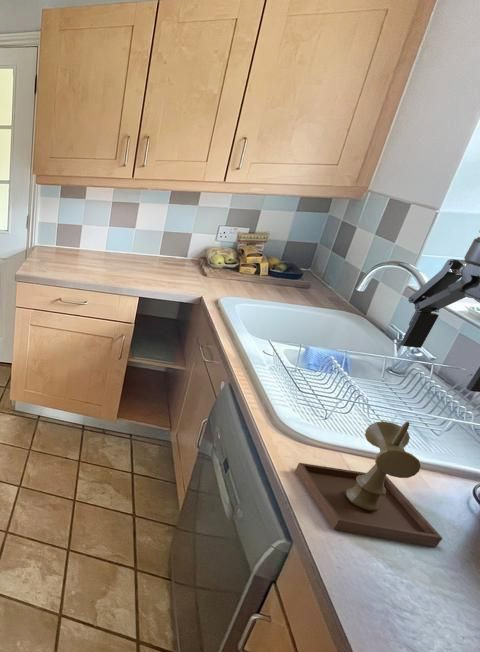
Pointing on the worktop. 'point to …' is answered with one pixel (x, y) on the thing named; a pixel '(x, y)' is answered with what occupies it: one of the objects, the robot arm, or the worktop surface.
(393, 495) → the tray
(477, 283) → the robot arm
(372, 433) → the kendama
